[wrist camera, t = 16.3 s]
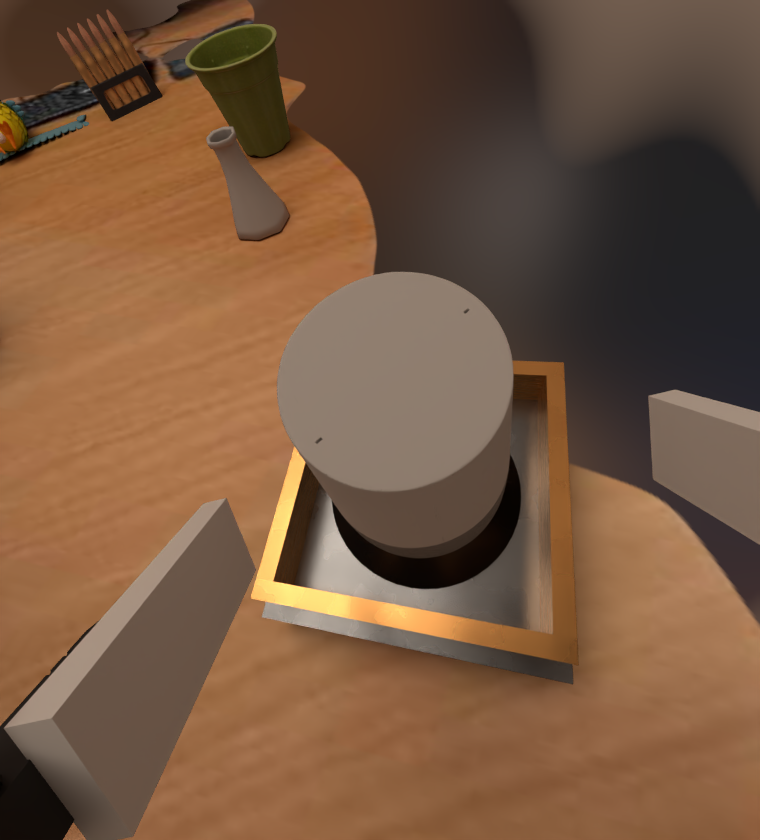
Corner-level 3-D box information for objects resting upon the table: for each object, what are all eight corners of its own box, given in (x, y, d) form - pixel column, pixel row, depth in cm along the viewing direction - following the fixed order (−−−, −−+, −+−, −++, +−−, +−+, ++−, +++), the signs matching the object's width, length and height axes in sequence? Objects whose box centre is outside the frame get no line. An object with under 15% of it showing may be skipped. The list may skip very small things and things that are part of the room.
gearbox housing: (554, 673, 22) (593, 695, 16) (287, 616, 26) (236, 617, 20) (547, 404, 30) (571, 349, 23) (342, 392, 34) (318, 342, 27)
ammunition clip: (160, 93, 73) (111, 6, 62) (162, 96, 72) (113, 8, 62) (109, 118, 72) (50, 33, 61) (111, 121, 71) (52, 35, 60)
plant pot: (260, 177, 52) (215, 76, 43) (218, 154, 58) (169, 59, 48) (322, 134, 55) (294, 29, 45) (277, 115, 60) (242, 17, 50)
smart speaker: (421, 602, 21) (381, 582, 9) (322, 489, 25) (200, 368, 13) (531, 485, 23) (622, 333, 11) (422, 398, 27) (399, 217, 15)
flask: (288, 236, 45) (248, 146, 37) (232, 247, 46) (180, 161, 38) (292, 200, 49) (257, 109, 40) (240, 210, 50) (195, 123, 41)
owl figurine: (-111, 149, 61) (-99, 119, 68) (-49, 201, 68) (-43, 169, 76) (52, 75, 63) (47, 54, 71) (95, 133, 71) (86, 109, 78)
